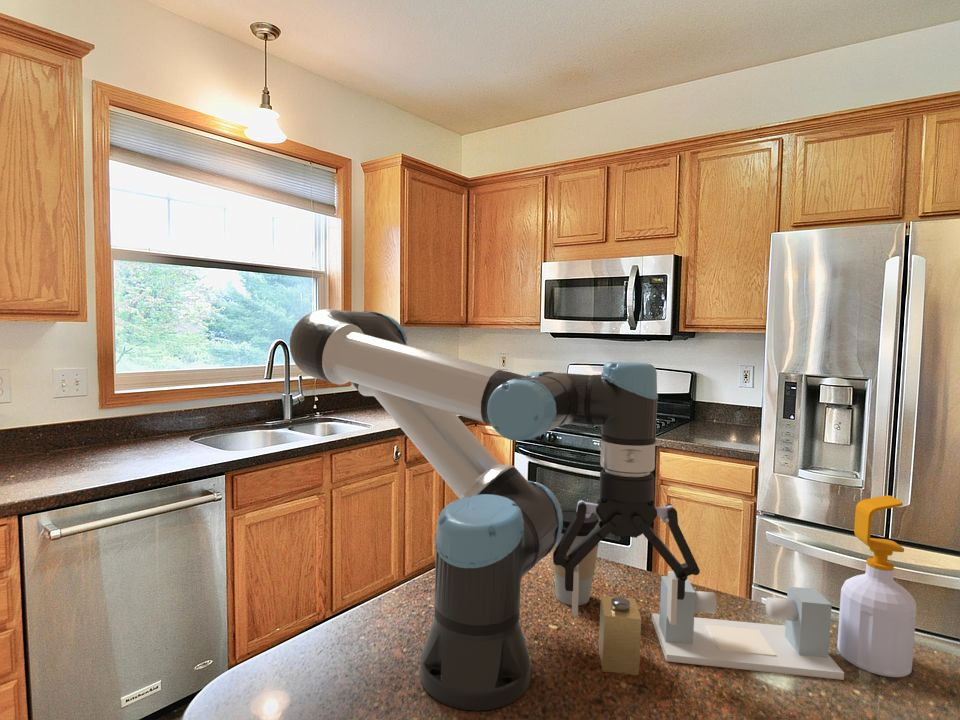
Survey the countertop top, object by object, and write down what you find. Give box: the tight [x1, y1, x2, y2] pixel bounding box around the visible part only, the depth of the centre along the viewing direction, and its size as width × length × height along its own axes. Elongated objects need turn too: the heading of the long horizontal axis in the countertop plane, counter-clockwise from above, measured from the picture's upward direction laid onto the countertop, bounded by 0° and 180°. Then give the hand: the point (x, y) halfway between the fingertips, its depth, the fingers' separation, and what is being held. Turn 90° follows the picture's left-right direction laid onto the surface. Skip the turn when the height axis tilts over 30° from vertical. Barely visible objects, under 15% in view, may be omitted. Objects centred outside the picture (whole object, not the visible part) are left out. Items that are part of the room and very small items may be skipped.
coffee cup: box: [551, 507, 600, 606], centre depth 99 cm, size 9×9×15 cm
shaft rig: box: [651, 575, 845, 681], centre depth 85 cm, size 24×12×9 cm, turn 82°
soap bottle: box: [836, 495, 918, 678], centre depth 82 cm, size 9×9×25 cm
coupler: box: [598, 595, 642, 676], centre depth 80 cm, size 5×6×9 cm
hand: (622, 616), depth 80 cm, fingers open, 13 cm apart
